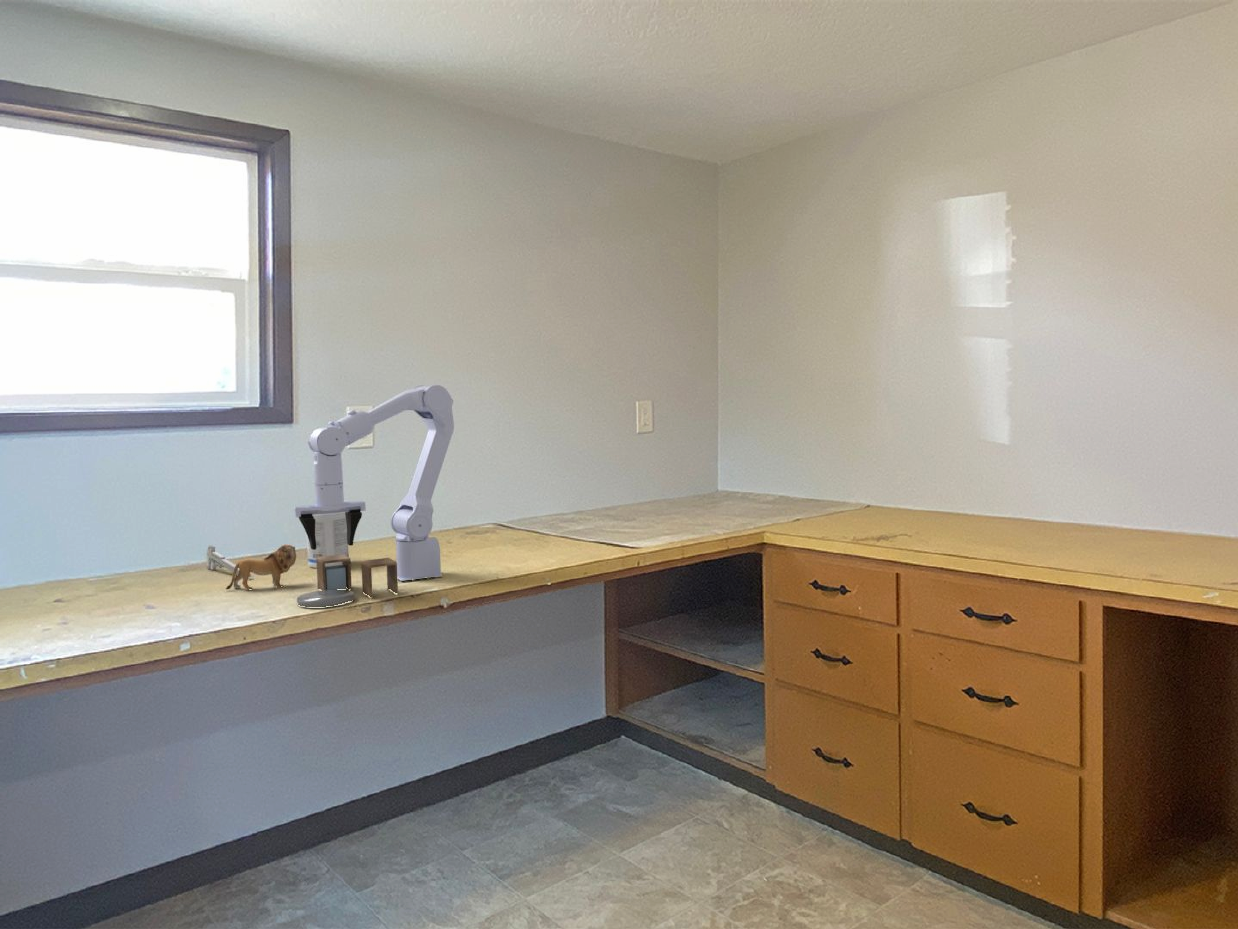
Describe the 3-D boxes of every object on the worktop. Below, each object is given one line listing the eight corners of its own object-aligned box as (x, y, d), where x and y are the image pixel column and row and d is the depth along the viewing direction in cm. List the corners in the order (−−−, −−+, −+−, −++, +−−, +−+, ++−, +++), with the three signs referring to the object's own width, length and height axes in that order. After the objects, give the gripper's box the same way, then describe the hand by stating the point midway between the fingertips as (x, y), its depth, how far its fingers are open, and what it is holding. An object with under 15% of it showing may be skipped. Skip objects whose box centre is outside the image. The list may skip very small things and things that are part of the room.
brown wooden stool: (389, 590, 182) (388, 557, 181) (398, 595, 177) (396, 562, 176) (362, 593, 179) (361, 561, 178) (370, 599, 174) (368, 565, 173)
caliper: (206, 570, 206) (205, 545, 206) (211, 569, 207) (209, 544, 206) (249, 581, 193) (248, 554, 193) (254, 580, 194) (252, 553, 194)
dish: (346, 592, 180) (346, 587, 179) (360, 603, 170) (360, 597, 170) (292, 600, 174) (292, 594, 174) (303, 611, 164) (303, 605, 164)
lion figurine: (295, 581, 192) (293, 541, 191) (299, 585, 187) (297, 545, 186) (224, 589, 185) (222, 548, 184) (226, 594, 180) (224, 552, 179)
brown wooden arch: (345, 585, 187) (343, 554, 186) (351, 590, 182) (350, 558, 181) (317, 589, 184) (316, 557, 183) (323, 594, 179) (322, 561, 178)
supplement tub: (344, 559, 216) (341, 502, 214) (353, 566, 207) (350, 506, 206) (304, 564, 211) (301, 505, 209) (311, 571, 202) (309, 510, 201)
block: (341, 587, 185) (340, 564, 185) (346, 590, 182) (345, 567, 182) (322, 589, 183) (321, 566, 183) (327, 593, 180) (326, 570, 179)
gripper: (358, 479, 188) (361, 540, 189) (289, 484, 180) (292, 547, 181) (367, 482, 182) (369, 545, 183) (296, 487, 174) (299, 553, 175)
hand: (332, 546), depth 182 cm, fingers open, 7 cm apart
